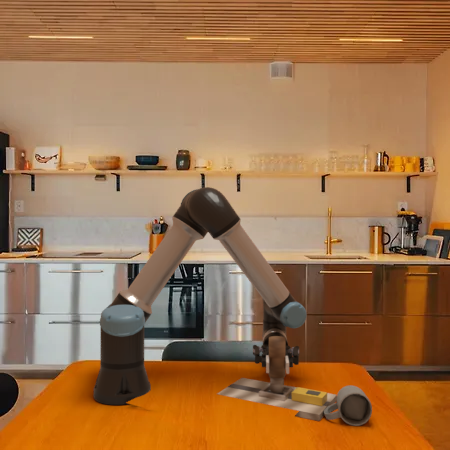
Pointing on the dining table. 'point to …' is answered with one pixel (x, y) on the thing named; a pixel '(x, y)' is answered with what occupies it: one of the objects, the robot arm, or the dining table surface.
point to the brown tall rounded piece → (277, 363)
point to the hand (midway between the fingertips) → (277, 368)
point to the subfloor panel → (276, 397)
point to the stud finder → (309, 396)
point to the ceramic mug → (350, 406)
